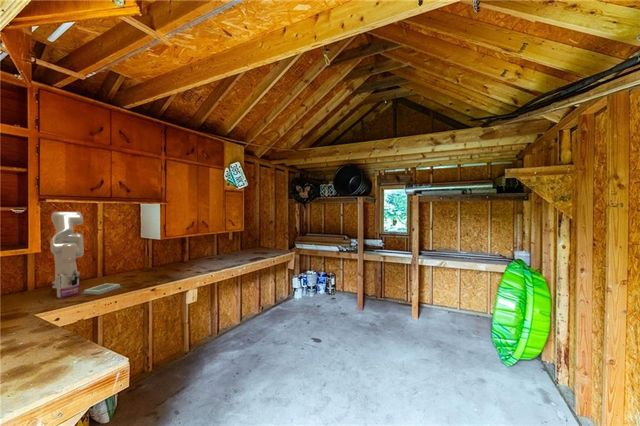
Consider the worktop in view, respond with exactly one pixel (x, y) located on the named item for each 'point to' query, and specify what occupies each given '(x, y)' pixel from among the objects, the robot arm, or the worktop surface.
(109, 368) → the worktop surface
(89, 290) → the light blue tray
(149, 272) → the worktop surface
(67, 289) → the candy bar box
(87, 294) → the rubber mat
